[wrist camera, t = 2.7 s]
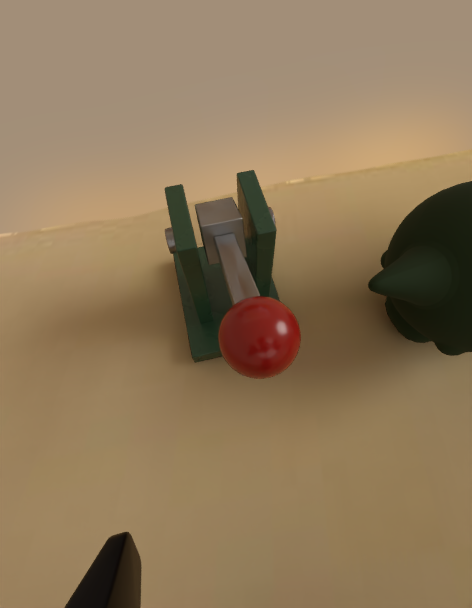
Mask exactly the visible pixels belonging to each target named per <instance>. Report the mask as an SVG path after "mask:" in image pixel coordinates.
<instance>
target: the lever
mask: <svg viewBox="0 0 472 608" xmlns="http://www.w3.org/2000/svg"><path fill="white" fill-rule="evenodd" d="M195 209H196V214H197V218H198V223H199V228H200V232H201V237H202V241H203V245H204V249H205V253H206V257H207V261H208V264H209V265H212V264H217V263H220V266H221V269H222V272H223V275H224V279H225V282H226V285H227V288H228V292H229V295H230V298H231V301H232V305H233V306H232V307H231V308H230V309H229V310H228V311H227V312H226V314H225V315H224V317H223V319H222V321H221V323H220V327H219V332H218V341H219V347H220V351H221V353H222V355H223V357H224V359H225V361H226V362H227V363H228V364H229V366H230V367H231V368H232V369H234V370H235V371H236V372H238V373H240V374H242V375H244V376H246V377H250V378H256V379H264V378H270V377H273V376H275V375H278V374H280V373H281V372H283V371H284V370H286V369H287V368H288V367H289V366H290V365H291V364H292V362H293V361H294V359H295V358H296V356H297V354H298V351H299V347H300V341H301V334H300V328H299V324H298V322H297V320H296V318H295V316H294V314H293V313H292V312H291V310H290V309H289V308H288V307H287V306H285V305H284V304H283V303H281V302H280V301H278V300H276V299H273V298H270V297H266V296H260V294H259V291H258V289H257V287H256V284H255V282H254V280H253V277H252V275H251V272H250V270H249V268H248V265H247V263H246V261H245V258H244V257H247V251H246V243H245V234H244V226H243V218H242V216H241V214H240V212H239V210H238V208H237V206H236V204H235V202H234V200H233V198H232V197H230V198H225V199H220V200H215V201H210V202H205V203H200V204H196V205H195Z"/></svg>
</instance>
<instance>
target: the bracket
mask: <svg viewBox="0 0 472 608" xmlns="http://www.w3.org/2000/svg"><path fill="white" fill-rule="evenodd" d="M237 192H238V210H239V212H240V214H241V216H242V218H243V226H244V234H245V243H246V251H247V257H244V258H245V261H246V263H247V265H248V268H249V270H250V272H251V275H252V277H253V280H254V282H255V284H256V287H257V289H258V291H259V294H260V296H266V297H270V298H273V299H276V300H278V301H280V300H279V297H278V294H277V291H276V288H275V285H274V282H273V279H272V267H273V257H274V248H275V239H276V227H275V218H274V214H273V211H272V209H271V208H270V207H268V206H267V203H266V201H265V198H264V195H263V193H262V190H261V187H260V185H259V182H258V180H257V177H256V174H255V172H254V170H251V171H246V172H241V173H237ZM165 194H166V199H167V205H168V210H169V215H170V221H171V226H172V228H167V229H165V236H166V240H167V244H168V248H169V251H170V253H171V254H173V256H174V261H175V267H176V272H177V278H178V283H179V289H180V294H181V299H182V305H183V310H184V316H185V321H186V327H187V332H188V338H189V343H190V348H191V354H192V358H193V360H194V362H200V361H204V360H208V359H212V358H216V357H220V356H223V355H222V353H221V351H220V347H219V341H218V332H219V327H220V323H221V321H222V319H223V317H224V315H225V314H226V312H227V311H228V310H229V309H230V308H231V307H232V306H233V305H232V301H231V298H230V295H229V292H228V288H227V285H226V282H225V279H224V275H223V272H222V269H221V266H220V263H217V264H212V265H209V264H208V261H207V257H206V253H205V249H204V246H203V247H199V248H197V244H196V240H195V236H194V231H193V227H192V223H191V219H190V214H189V210H188V206H187V201H186V197H185V193H184V189H183V185H181V184H180V185H175V186H170V187H166V188H165Z"/></svg>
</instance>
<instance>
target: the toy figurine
mask: <svg viewBox="0 0 472 608" xmlns="http://www.w3.org/2000/svg"><path fill="white" fill-rule="evenodd" d="M381 265H382V267H383V268H384V270H382V271H381V272H379V273H378V274H377V275H376V276H374V277H373V278H372V279H371V280H370V282H369V284H368V287H369V289H370V290H371V291H373V292H376V293H378V294H381V295H385V296H387V298H386V302H385V306H386V310H387V314H388V316H389V317H390V319H391V321H392V322H393V324H394V325H395V327H396V328H397V330H398V331H399V332H400V333H401V334H402V335H403V336H405V337H406V338H407V339H409V340H412V341H414V342H420V343H425V342H429V341H433V342H434V343H435V345H436V346H437V348H438V349H439V350H440V351H441V352H442V353H444V354H447V355H459V354H462V353H464V352H472V181H470V182H466V183H461V184H458V185H455V186H453V187H450V188H447V189H445V190H442V191H440V192H438V193H436V194H435V195H433V196H431V197H429V198H428V199H426V200H425V201H424V202H422V203H421V204H420V205H418V206H417V207H416V208H415V209H414V210H413V211H412V212H411V213H410V214H408V215H407V216H406V218H405V219H404V220H403V221H402V223H401V224H400V225H399V227H398V229H397V230H396V232H395V234H394V236H393V238H392V240H391V242H390V244H389V247H388V250H387V251H386V252H384V254H383V255H382V257H381Z"/></svg>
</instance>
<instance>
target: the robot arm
mask: <svg viewBox="0 0 472 608" xmlns="http://www.w3.org/2000/svg"><path fill="white" fill-rule="evenodd" d="M140 606H141V559H140V556H139V553H138V551H137V548H136V546H135V543H134V541H133V539H132V536H131V534H130V533H129V532H123V533H120V534H116V535H113V536H111V537H110V538H109V539H108V540H107V541H106V543H105V544H104V546H103V548H102V549H101V551H100V552H99V554H98V555H97V557H96V559H95V560H94V562H93V563H92V565H91V567H90V568H89V570H88V571H87V573H86V574H85V576H84V578H83V579H82V581H81V582H80V584H79V585H78V587H77V589H76V590H75V592H74V593H73V595H72V597H71V598H70V600H69V601H68V603H67V604H66V606H65V608H140Z"/></svg>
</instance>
